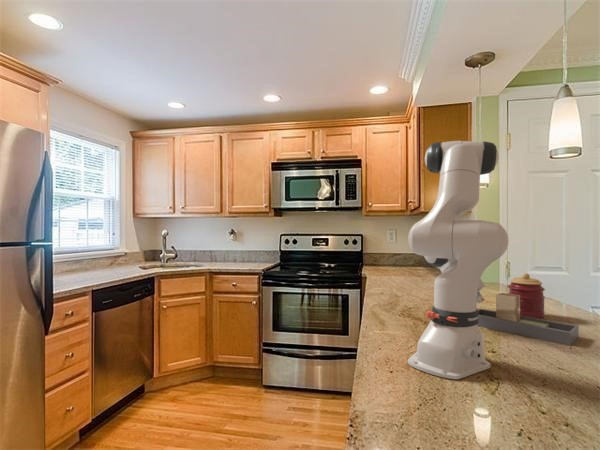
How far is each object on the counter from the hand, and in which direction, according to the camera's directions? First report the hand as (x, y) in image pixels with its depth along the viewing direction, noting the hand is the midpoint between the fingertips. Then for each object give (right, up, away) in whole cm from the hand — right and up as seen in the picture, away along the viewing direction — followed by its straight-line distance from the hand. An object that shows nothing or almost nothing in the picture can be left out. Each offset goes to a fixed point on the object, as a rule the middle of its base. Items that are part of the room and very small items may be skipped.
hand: (481, 301), depth 135 cm
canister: (+23, -8, +10) cm, 27 cm away
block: (+6, -5, -7) cm, 11 cm away
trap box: (+9, -8, -10) cm, 15 cm away
